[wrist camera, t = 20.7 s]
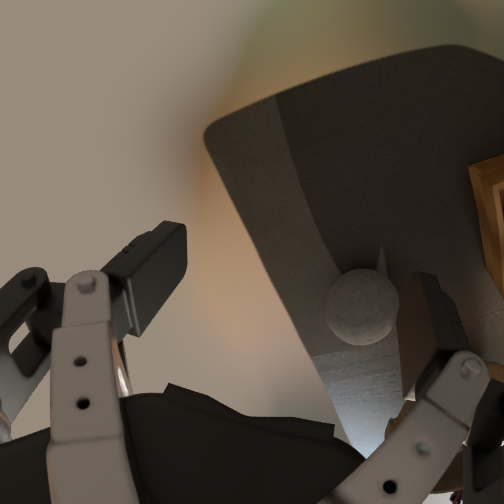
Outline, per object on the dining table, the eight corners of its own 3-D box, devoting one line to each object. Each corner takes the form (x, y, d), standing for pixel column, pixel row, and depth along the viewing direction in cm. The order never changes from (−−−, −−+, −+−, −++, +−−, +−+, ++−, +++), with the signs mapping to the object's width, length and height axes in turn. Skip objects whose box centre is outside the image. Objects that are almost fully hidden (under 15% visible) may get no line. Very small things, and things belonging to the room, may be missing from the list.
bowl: (500, 299, 39) (543, 398, 22) (521, 384, 46) (542, 461, 29) (360, 369, 53) (354, 471, 36) (415, 432, 59) (416, 508, 42)
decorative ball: (353, 241, 42) (354, 284, 33) (408, 277, 42) (420, 324, 34) (313, 292, 47) (305, 339, 39) (367, 322, 47) (368, 370, 39)
